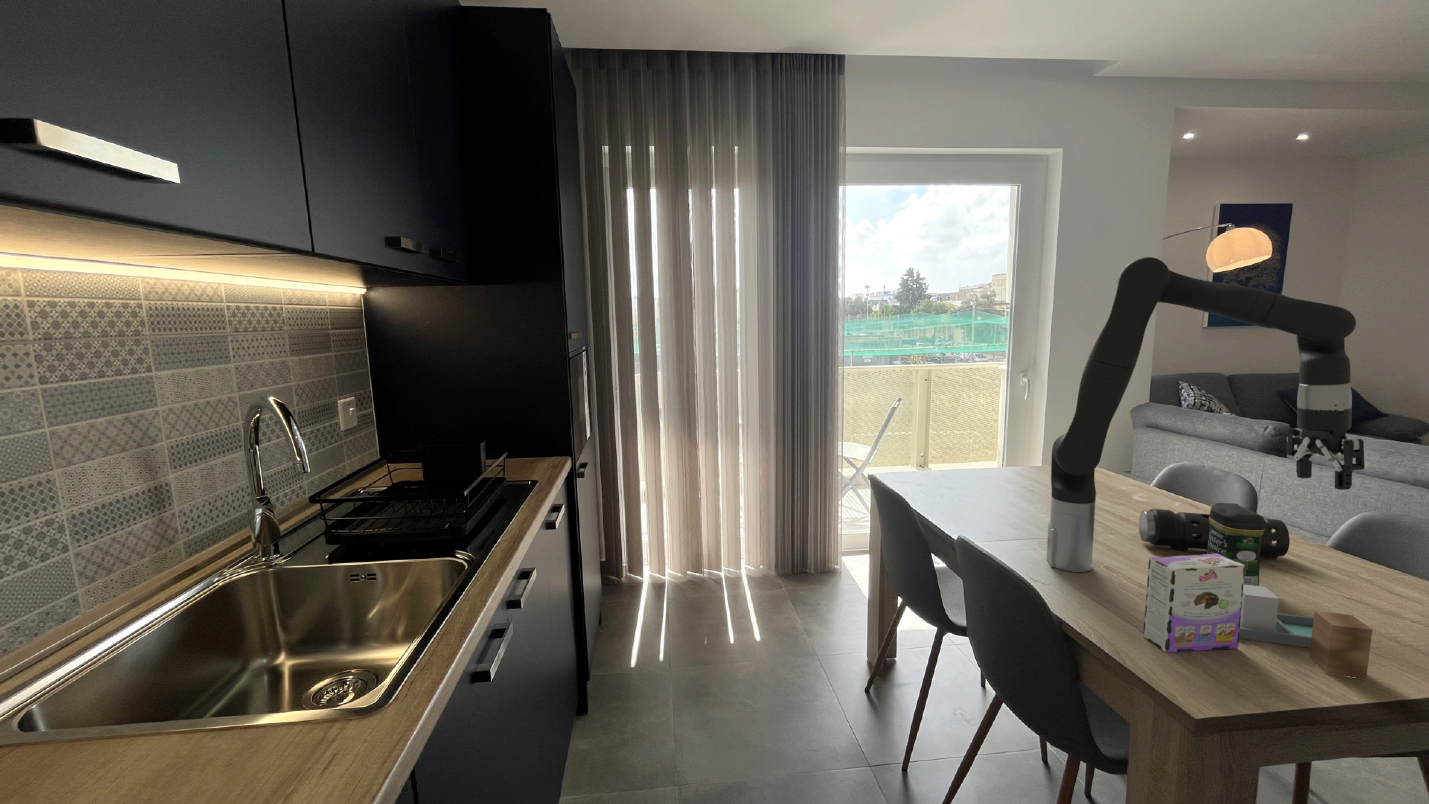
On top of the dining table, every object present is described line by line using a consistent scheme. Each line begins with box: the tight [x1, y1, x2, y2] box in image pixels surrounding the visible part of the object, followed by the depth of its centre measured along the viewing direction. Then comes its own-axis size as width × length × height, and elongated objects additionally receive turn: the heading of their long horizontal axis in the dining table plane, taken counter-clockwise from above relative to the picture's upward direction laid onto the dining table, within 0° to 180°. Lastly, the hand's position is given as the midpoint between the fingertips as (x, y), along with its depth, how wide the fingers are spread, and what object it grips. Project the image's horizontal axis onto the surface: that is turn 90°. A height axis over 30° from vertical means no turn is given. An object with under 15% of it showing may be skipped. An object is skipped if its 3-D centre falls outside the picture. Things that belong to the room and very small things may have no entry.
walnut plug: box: [1308, 610, 1373, 680], centre depth 98 cm, size 5×5×9 cm
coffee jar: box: [1206, 502, 1265, 586], centre depth 128 cm, size 10×8×19 cm
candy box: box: [1143, 554, 1245, 654], centre depth 107 cm, size 14×6×16 cm, turn 92°
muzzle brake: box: [1138, 508, 1291, 560], centre depth 147 cm, size 10×28×10 cm, turn 67°
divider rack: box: [1239, 584, 1314, 649], centre depth 109 cm, size 18×9×8 cm, turn 68°
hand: (1322, 483), depth 117 cm, fingers open, 8 cm apart
